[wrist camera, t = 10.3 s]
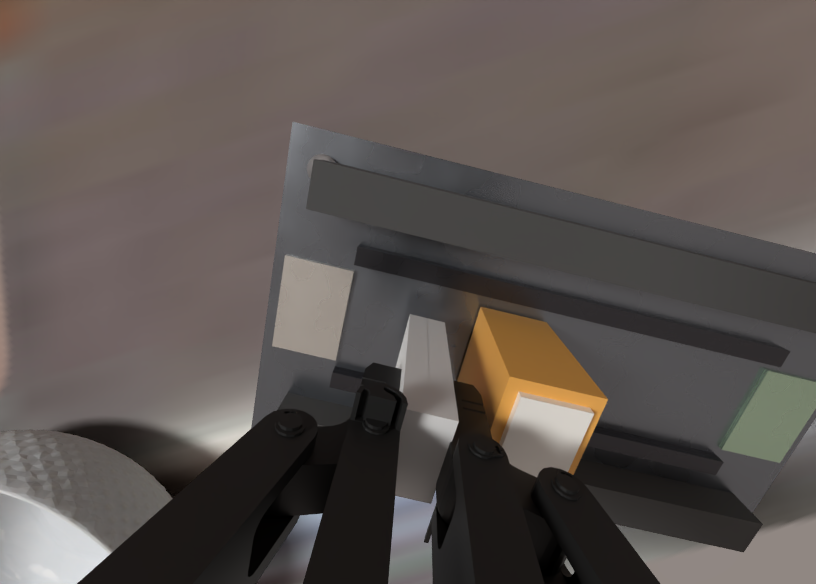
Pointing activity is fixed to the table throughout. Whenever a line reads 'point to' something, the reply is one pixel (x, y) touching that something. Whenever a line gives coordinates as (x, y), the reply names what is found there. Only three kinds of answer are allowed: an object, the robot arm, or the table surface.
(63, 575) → the cereal bowl
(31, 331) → the table surface
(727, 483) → the grey slider base
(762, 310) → the long dark grey rail
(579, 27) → the table surface
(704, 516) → the dark grey edge bar
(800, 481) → the table surface
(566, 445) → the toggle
